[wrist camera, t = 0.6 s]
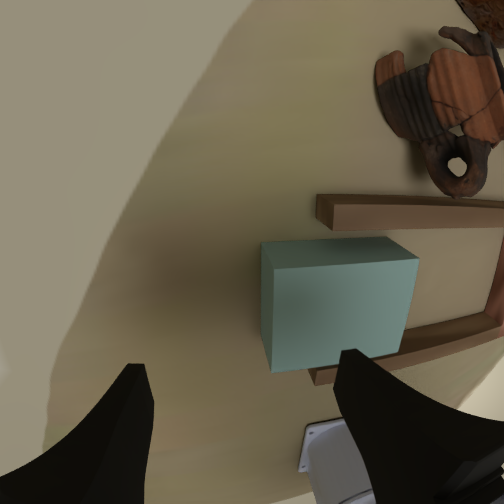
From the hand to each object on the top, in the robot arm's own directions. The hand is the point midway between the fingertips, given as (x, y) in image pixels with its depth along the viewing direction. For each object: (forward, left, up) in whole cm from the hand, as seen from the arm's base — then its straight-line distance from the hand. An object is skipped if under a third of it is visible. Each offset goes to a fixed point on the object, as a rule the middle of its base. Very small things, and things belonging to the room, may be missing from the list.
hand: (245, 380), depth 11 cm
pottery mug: (+11, -14, -11) cm, 21 cm away
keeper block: (-2, -7, -11) cm, 13 cm away
